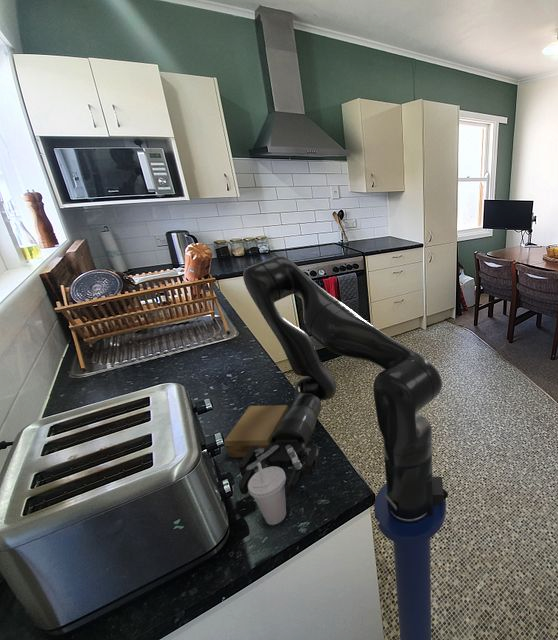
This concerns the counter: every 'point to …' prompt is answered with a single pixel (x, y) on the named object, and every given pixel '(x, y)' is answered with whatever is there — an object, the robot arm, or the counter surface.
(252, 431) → the bench
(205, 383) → the counter surface
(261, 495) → the smoothie
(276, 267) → the robot arm
